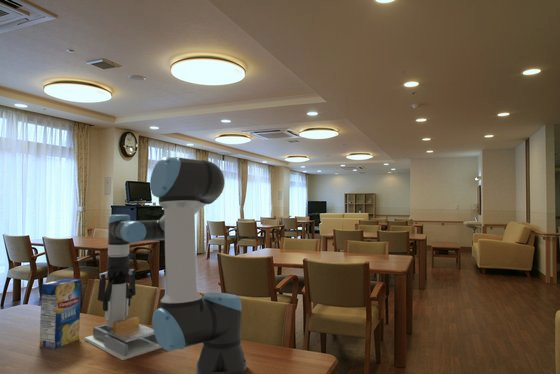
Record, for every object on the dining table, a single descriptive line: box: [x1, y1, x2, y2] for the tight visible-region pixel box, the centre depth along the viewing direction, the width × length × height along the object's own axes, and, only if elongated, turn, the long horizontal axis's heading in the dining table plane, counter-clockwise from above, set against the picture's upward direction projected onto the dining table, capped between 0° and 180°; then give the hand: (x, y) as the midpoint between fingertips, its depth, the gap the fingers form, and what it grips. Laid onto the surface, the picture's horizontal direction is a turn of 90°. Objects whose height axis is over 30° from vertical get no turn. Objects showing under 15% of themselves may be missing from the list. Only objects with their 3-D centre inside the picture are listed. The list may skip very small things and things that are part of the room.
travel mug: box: [106, 274, 128, 330], centre depth 144 cm, size 6×7×20 cm
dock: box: [84, 323, 163, 361], centre depth 139 cm, size 28×16×4 cm, turn 50°
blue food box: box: [39, 278, 82, 350], centre depth 140 cm, size 7×11×22 cm, turn 163°
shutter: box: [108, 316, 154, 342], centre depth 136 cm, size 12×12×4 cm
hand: (116, 317), depth 144 cm, fingers closed on travel mug, 6 cm apart
